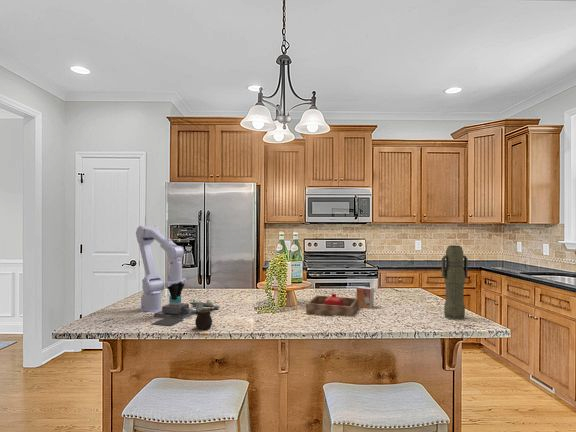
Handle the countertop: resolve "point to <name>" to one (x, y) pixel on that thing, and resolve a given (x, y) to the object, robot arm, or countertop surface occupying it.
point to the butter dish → (333, 300)
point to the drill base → (175, 315)
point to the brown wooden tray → (332, 306)
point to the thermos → (454, 282)
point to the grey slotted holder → (176, 309)
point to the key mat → (167, 322)
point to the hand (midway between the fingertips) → (175, 299)
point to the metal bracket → (202, 304)
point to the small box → (365, 297)
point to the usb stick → (175, 301)
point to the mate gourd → (203, 319)
